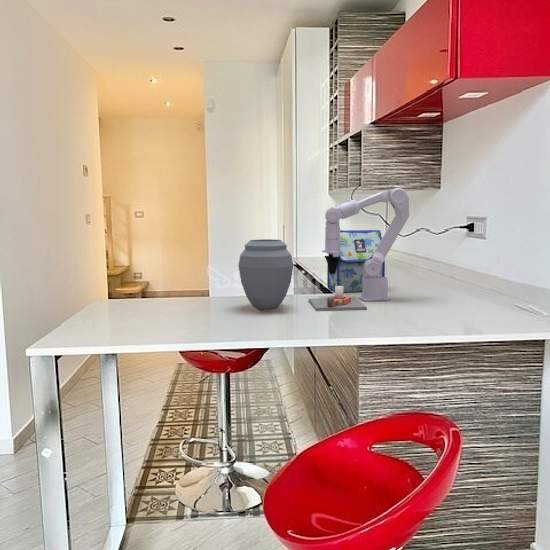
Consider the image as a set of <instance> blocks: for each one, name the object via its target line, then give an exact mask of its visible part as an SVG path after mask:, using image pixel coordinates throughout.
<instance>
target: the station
mask: <svg viewBox="0 0 550 550" xmlns="http://www.w3.org/2000/svg"><path fill="white" fill-rule="evenodd" d="M334 296H335V299H343V296H344V292H343V286H335V291H334ZM327 298H328V297H327ZM327 298H323V297H322V298H321V297H320V298H308V302H309V304H310V306H312V308H313V310H315V312H329V311H332V312H333V311H336V312H337V311H367V310H368V307H367V306H366V305H365V304H364V303H362V302H361V301H360V300H358V298H355V297H351V302H349V303H347V304H342V306H337V305H336V306H334V307H328V306H327Z"/></svg>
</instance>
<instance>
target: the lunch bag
mask: <svg viewBox="0 0 550 550" xmlns="http://www.w3.org/2000/svg"><path fill="white" fill-rule="evenodd" d="M382 238H383V236H382V231H381V230H380V229H365V230H363V229H360V230H359V229H357V230H355V229H354V230H350V229H349V230H346V229H345V230H342V229H340V253H339V256H340V259H339V262H338V264H337V269H336V273H335V274H330V273H329V269H328V264H327V266H326V267H327V270H326V271H327V273H326V275H327V282H326V284H327V289H329V290H333V291H334V292H335V286H343V293H350V292H352V293H353V292H354V293H357V292H362V284H363V275H364V274H365V270H364V267H363V265H364V262H365V261H366V260H367V259H369V258H370V257H371V255H372V254H373V252H374V251H375V250H376V248H377V246H378V244H379V243H380V241H381V239H382ZM385 260H386V258H385V259H384V262H383V264H382V266H381V272H380V275H381V277H386V276H385V275H386V261H385Z"/></svg>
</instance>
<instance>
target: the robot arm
mask: <svg viewBox="0 0 550 550" xmlns="http://www.w3.org/2000/svg"><path fill="white" fill-rule="evenodd" d="M378 203H390V205H391V207H392V208H393V211H394V217H393V219H392V221H391V222H390V224H389V226H388V227H387V229H386V231H385V233H384V234H383V236H382V239H381V241H380V243H379V244H378V246H377V248H376V250H375V251H374V252H373V254H372V255H371V257H370V258H369V259H367V260H366V261H365V262H364V265H363V267H364V270H365V274H364V275H363V284H362V291H361V293H362V295H361V296H359V297H358V298H359V299H361V300H362V301H364V302H371V301H372V302H373V301H374V302H375V301H376V302H377V301H380V302H381V301H389V299H388V298H389V295H388V294H389V288H388V287H389V282H388V278H387V277H386V276H385V277H381V275H380V272H381V266H382V264H383V262H384V259H385V260H386V256H387V255H388V253H389V251H390V249H392V246H393V244H394V243H395V241H396V240H397V238H398V237H399V234H400V233H401V231H402V229H403V228H404V226H405V225H406V222H407V221H408V219H409V217H410V198H409V195H408V193H407V191H406V190H405V189H403V188H401V187H396V188H393V189H392V188H391V189H387V190H384V191H383V190H382V191H379V192H378V193H374V194H372V195H370V196H368V197H365V198H363V199H361V200H358V201H357V200H355V199H350V198H349V199H347V200H346V202H345V201H344V202H343V203H340V204H335V205H334V207H330V208H328V209H327V210H326V212H325V214H324V216H325V217H324V218H325V227H324V229H325V230H324V231H325V233H324V235H325V237H324V238H325V239H324V240H325V241H324V246H325V247H324V248H325V249H323V250H321V253H326V254H328V255H324V258H325V261H326V263H327V265H328V269H329V273H330V274H335V273H336V269H337V264H338V262H339V259H340V256H339V253H340V230H341V226H340V220H341V219H342V220H344V219H348V218H350V217H353V216H355V215H358V214H359V213H360V211H361V209H364V208H367V207H370V206H372V205H375V204H378Z"/></svg>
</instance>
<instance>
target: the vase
mask: <svg viewBox="0 0 550 550" xmlns="http://www.w3.org/2000/svg"><path fill="white" fill-rule="evenodd" d="M287 246H288V245H287V243H285V242H284V241H282V240H281V239H250V240H249V241H248V242H246V243H245V244H244V250H243V251H242V252H241V254H240V255H239V260H238V271H239V277H240V283H241V285H242V289H243V292H244V293H245V296H246V297H247V299H248V301H249V303H250V304H251V306H252V307H253V308H254V309H256V310H258V311H274V310H277V309H279V307H280V306H281V305H282V304H283V301H284V300H285V298H286V297H287V294H288V291H289V288H290V285H291V282H292V278H293V277H292V275H293V271H294V262H293V257H292V254H291V252H290V251H289V250H288V249H287ZM273 309H274V310H273Z"/></svg>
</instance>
